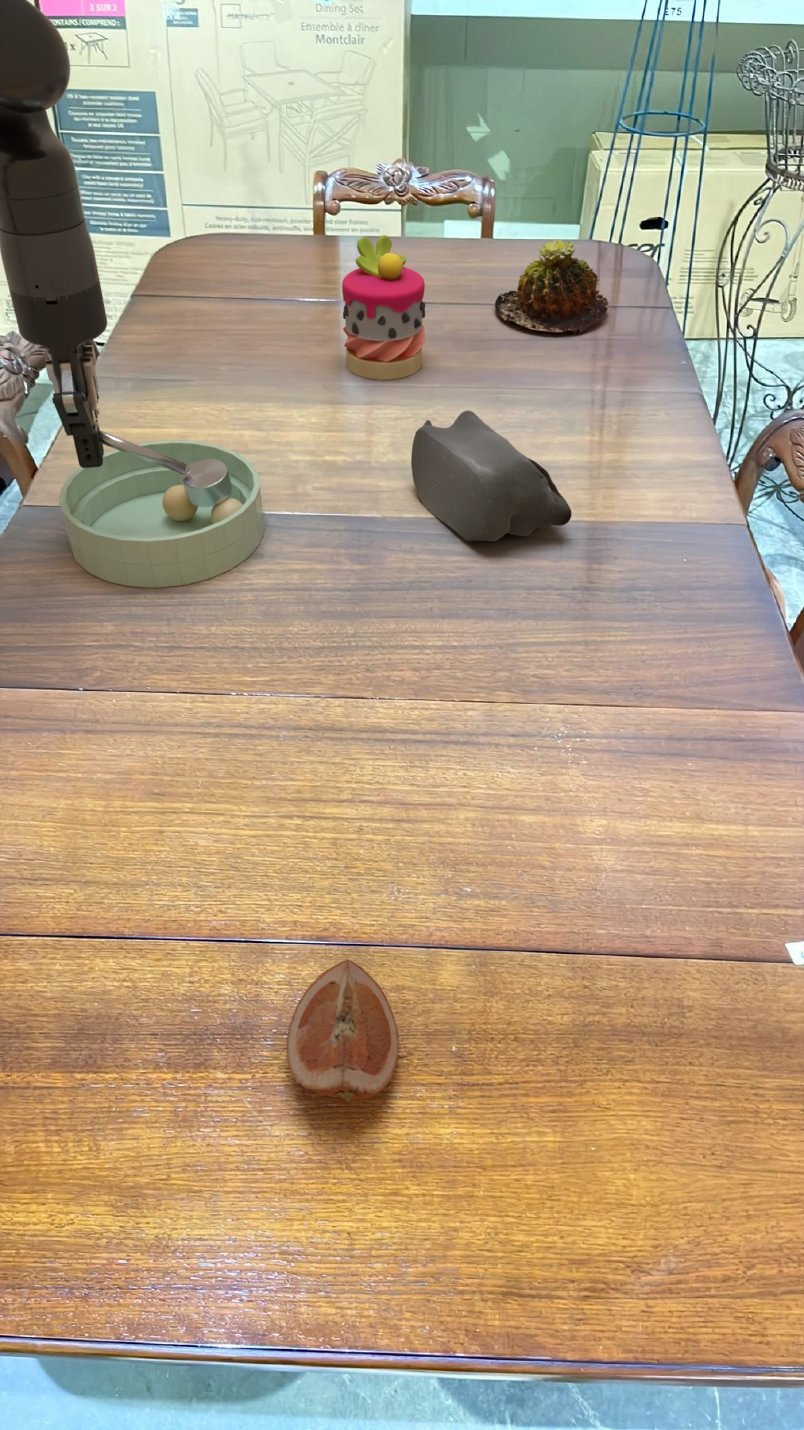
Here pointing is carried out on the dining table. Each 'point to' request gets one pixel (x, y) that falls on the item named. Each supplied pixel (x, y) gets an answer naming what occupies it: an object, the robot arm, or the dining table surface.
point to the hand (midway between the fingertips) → (92, 461)
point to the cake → (383, 314)
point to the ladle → (183, 472)
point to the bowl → (157, 519)
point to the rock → (482, 482)
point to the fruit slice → (343, 1035)
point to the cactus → (555, 293)
